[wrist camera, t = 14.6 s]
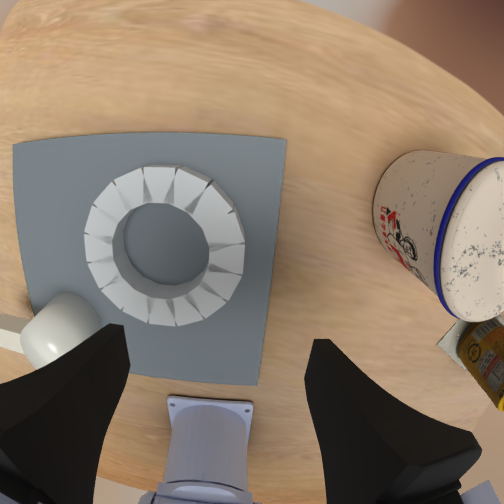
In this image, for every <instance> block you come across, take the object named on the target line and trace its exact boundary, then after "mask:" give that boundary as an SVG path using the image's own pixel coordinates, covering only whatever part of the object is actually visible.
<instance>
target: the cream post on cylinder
mask: <svg viewBox="0 0 504 504" xmlns="http://www.w3.org/2000/svg"><path fill="white" fill-rule="evenodd" d="M100 329H101V322H100V319H99V316H98V314H97V313H96V311H95V309H94V308H93V307H92V306H91V305H90V303H89V302H87V301H86V300H85V299H84V298H82V297H81V296H79V295H77V294H74V293H71V292H62V293H59V294H57V295H56V296H55V297H54V298H53V299H52V300H51V301H50V302H49V303H48V304H47V305H46V306H45V307H44V308H43V309H42V310H41V311H40V312H39V313H38V314H37V315H36V316H35V317H34V318H33V319H32V320H30V319H25V318H21V317H16V316H12V315H8V314H4V313H2V314H1V315H0V347H3V348H6V349H9V350H12V351H15V352H19V353H22V354H25V356H26V357H27V359H28V360H29V361H30V363H31V364H32V365H33V366H34V367H35V368H36V369H39V368H41V367H43V366H45V365H47V364H49V363H51V362H52V361H54V360H56V359H57V358H59V357H60V356H62V355H64V354H65V353H67V352H68V351H70V350H71V349H73V348H74V347H76V346H77V345H79V344H80V343H82V342H83V341H84V340H86V339H87V338H89V337H90V336H91V335H93V334H94V333H96V332H97V331H98V330H100Z"/></svg>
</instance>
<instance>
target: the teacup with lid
mask: <svg viewBox="0 0 504 504" xmlns="http://www.w3.org/2000/svg"><path fill="white" fill-rule="evenodd" d="M373 218H374V225H375V229H376V233H377V236H378V238H379V240H380V242H381V244H382V245H383V247H384V248H385V249H386V251H387V252H388V253H389V254H390V255H391V256H393V257H394V258H395V259H396V260H397V261H399V262H400V263H401V264H402V265H403V266H404V267H406V268H407V269H408V270H409V271H410V272H411V273H412V274H414V275H415V276H416V277H417V278H418V279H419V280H420V281H422V282H423V283H424V284H425V285H426V286H427V287H428V288H429V289H430V290H432V291H433V292H434V293H435V294H436V295H437V296H438V297H439V299H440V302H441V303H442V305H443V306H444V308H445V309H446V310H447V311H448V312H449V313H450V314H451V315H452V316H454V317H456V318H458V319H461V320H464V321H469V322H481V321H485V320H488V319H491V318H493V317H495V316H497V315H499V314H500V313H502V312H503V311H504V158H503V157H494V158H490V159H483V158H478V157H472V156H465V155H459V154H451V153H444V152H436V151H427V150H419V151H413V152H410V153H407V154H405V155H403V156H401V157H400V158H398V159H397V160H396V161H395V162H394V163H393V164H392V165H391V166H390V167H389V168H388V169H387V170H386V172H385V173H384V175H383V177H382V178H381V180H380V183H379V185H378V187H377V191H376V194H375V198H374V206H373Z"/></svg>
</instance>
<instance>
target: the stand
mask: <svg viewBox="0 0 504 504" xmlns="http://www.w3.org/2000/svg"><path fill="white" fill-rule="evenodd" d="M286 142H287V140H285V139H276V138H266V137H256V136H243V135H229V134H210V133H174V132H151V133H116V134H98V135H85V136H73V137H63V138H54V139H46V140H38V141H31V142H24V143H18V144H13V189H14V204H15V215H16V225H17V233H18V240H19V247H20V253H21V259H22V265H23V270H24V275H25V280H26V284H27V289H28V293H29V297H30V301H31V305H32V309H33V313H34V316H36V315H37V314H38V313H39V312H40V311H41V310H42V309H43V308H44V307H45V306H46V305H47V304H48V303H49V302H50V301H51V300H52V299H53V298H54V297H55V296H56V295H57V294H59V293H62V292H71V293H74V294H77V295H79V296H81V297H82V298H84V299H85V300H86V301H87V302H89V303H90V305H91V306H92V307H93V308H94V309H95V311H96V313H97V314H98V316H99V319H100V322H101V328H103V327H104V326H106V325H107V324H109V323H112V324H119V325H124V331H125V337H126V343H127V348H128V354H129V359H130V364H131V366H130V370H129V373H132V374H138V375H144V376H151V377H158V378H166V379H174V380H183V381H192V382H203V383H215V384H230V385H252V386H257V384H258V377H259V370H260V363H261V355H262V348H263V341H264V333H265V326H266V318H267V310H268V303H269V295H270V287H271V279H272V270H273V262H274V254H275V245H276V237H277V228H278V219H279V210H280V201H281V191H282V182H283V172H284V162H285V152H286Z"/></svg>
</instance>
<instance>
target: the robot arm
mask: <svg viewBox="0 0 504 504" xmlns="http://www.w3.org/2000/svg"><path fill="white" fill-rule="evenodd" d="M130 366H131V364H130V359H129V354H128V348H127V343H126V337H125V331H124V325H119V324H112V323H109V324H107V325H106V326H104V327H103V328H101V329H100V330H98V331H97V332H96V333H94V334H93V335H91V336H90V337H89V338H87V339H86V340H84V341H83V342H82V343H80V344H79V345H77V346H76V347H74V348H73V349H71V350H70V351H68V352H67V353H65V354H64V355H62V356H60V357H59V358H57V359H56V360H54V361H52V362H51V363H49V364H47V365H45V366H43V367H41V368H39V369H37V370H35V371H33V372H31V373H29V374H27V375H24V376H22V377H19V378H17V379H14V380H11V381H9V382H5V383H2V384H0V504H93V495H94V487H95V480H96V474H97V468H98V463H99V458H100V454H101V449H102V445H103V441H104V438H105V435H106V432H107V429H108V426H109V424H110V421H111V419H112V416H113V414H114V412H115V409H116V407H117V405H118V402H119V400H120V397H121V395H122V393H123V390H124V388H125V385H126V381H127V378H128V374H129V370H130ZM304 380H305V389H306V396H307V402H308V405H309V409H310V413H311V417H312V420H313V424H314V427H315V431H316V435H317V438H318V442H319V446H320V450H321V455H322V462H323V469H324V478H325V487H326V499H327V504H501V503H500V501H499V499H498V497H497V495H496V493H495V491H494V489H493V487H492V486H491V483H490V481H489V480H487V481H485V482H483V483H481V484H479V485H478V486H476V487H474V488H472V489H470V490H468V491H466V492H465V493H463V494H462V495H460V494H459V492H458V489H460V488H461V483H460V481H459V479H460V478H461V477H462V476H463V475H464V474H465V473H466V472H467V471H468V470H469V469H470V468H471V467H472V466H473V465H474V464H475V463H476V461H477V460H478V459H479V457H480V456H481V452H482V449H481V447H480V445H479V444H478V442H477V440H476V439H475V437H474V435H473V434H472V432H470V431H467V430H463V429H460V428H457V427H454V426H450V425H447V424H445V423H442V422H440V421H437V420H435V419H433V418H430V417H428V416H426V415H424V414H422V413H420V412H418V411H417V410H415V409H413V408H411V407H409V406H408V405H406V404H404V403H403V402H401V401H399V400H398V399H397V398H395V397H394V396H392V395H391V394H389V393H388V392H386V391H385V390H384V389H382V388H381V387H380V386H379V385H378V384H376V383H375V382H374V381H373V380H372V379H370V378H369V377H368V376H367V375H366V374H365V373H364V372H362V371H361V370H360V369H359V368H358V367H357V366H356V365H355V364H354V363H353V362H352V361H351V360H350V359H349V358H348V357H347V356H346V355H345V354H344V353H343V352H342V351H341V350H340V349H339V348H338V347H337V346H336V345H335V344H334V343H333V342H332V341H331V340H330V339H314V341H313V346H312V350H311V354H310V358H309V362H308V365H307V369H306V373H305V377H304ZM167 404H168V410H169V417H170V422H171V428H172V434H171V439H170V444H169V449H168V455H167V460H166V466H165V472H164V477H163V483H161V482H159V483H158V487H157V492H154V491H148V492H147V493H146V494H144V495H143V496H142V497H141V498H140V500H139V502H138V504H262V503H260V502H253V493H252V492H248V471H247V446H248V440H249V433H250V427H251V420H252V413H253V403H251V402H245V401H225V400H211V399H199V398H189V397H180V396H168V398H167ZM247 409H248V410H247Z"/></svg>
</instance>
